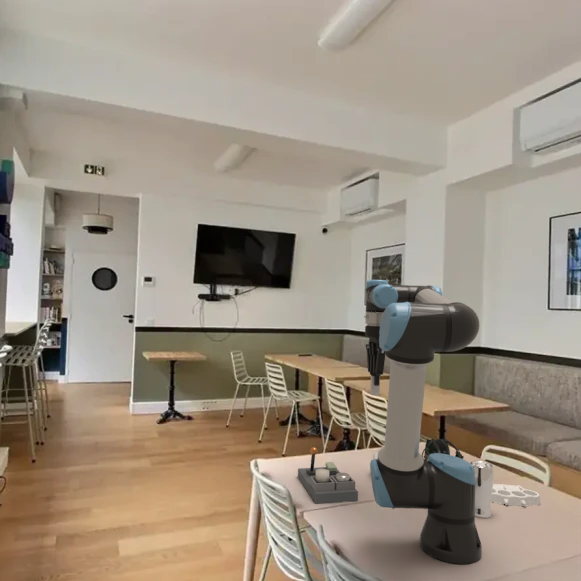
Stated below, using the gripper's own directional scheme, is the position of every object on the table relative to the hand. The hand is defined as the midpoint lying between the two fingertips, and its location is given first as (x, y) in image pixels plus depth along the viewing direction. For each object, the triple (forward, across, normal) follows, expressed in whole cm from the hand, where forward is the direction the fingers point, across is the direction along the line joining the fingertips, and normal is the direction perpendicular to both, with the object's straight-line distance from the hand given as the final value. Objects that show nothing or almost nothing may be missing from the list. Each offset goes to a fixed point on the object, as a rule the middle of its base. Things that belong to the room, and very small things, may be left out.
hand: (374, 394), depth 164 cm
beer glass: (+33, +22, +26) cm, 47 cm away
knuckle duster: (+33, +13, +42) cm, 55 cm away
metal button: (+29, +2, -12) cm, 31 cm away
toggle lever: (+29, -11, -18) cm, 36 cm away
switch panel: (+32, -5, -15) cm, 36 cm away
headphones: (+33, -21, +38) cm, 54 cm away
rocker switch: (+28, -11, -12) cm, 33 cm away
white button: (+27, +2, -19) cm, 33 cm away
